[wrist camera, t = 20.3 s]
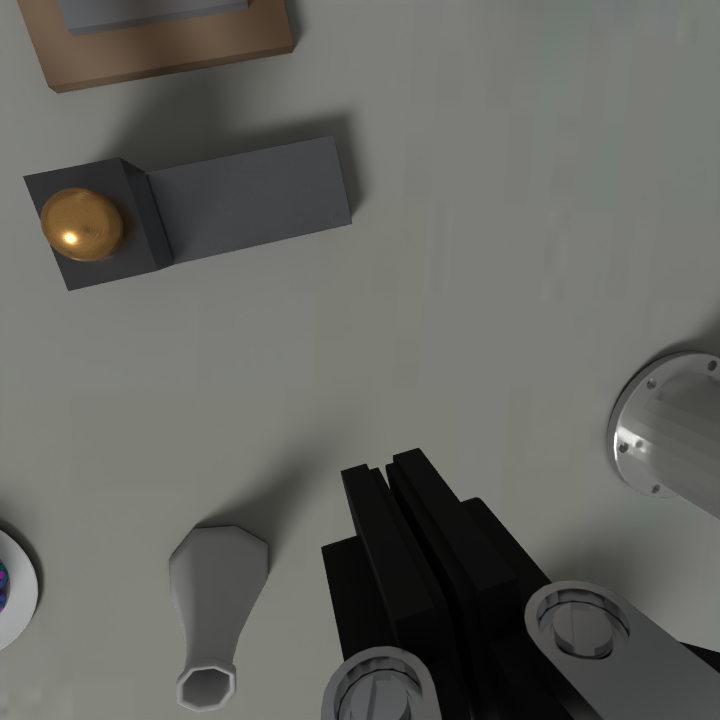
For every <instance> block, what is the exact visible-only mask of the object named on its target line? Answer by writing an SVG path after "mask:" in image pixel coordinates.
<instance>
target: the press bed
mask: <svg viewBox="0 0 720 720" xmlns="http://www.w3.org/2000/svg"><path fill="white" fill-rule="evenodd" d="M17 1H18V4H19V7H20V10H21V12H22V15H23V18H24V21H25V24H26V26H27V29H28V32H29V35H30V37H31V40H32V43H33V46H34V48H35V51H36V54H37V57H38V59H39V62H40V65H41V68H42V70H43V73H44V76H45V79H46V81H47V84H48V87H49V88H51V89H52V90H54V91H55V92H56V93H62V92H68V91H74V90H80V89H85V88H91V87H97V86H103V85H108V84H114V83H120V82H126V81H131V80H137V79H143V78H149V77H154V76H160V75H166V74H172V73H177V72H183V71H189V70H195V69H200V68H206V67H212V66H218V65H224V64H229V63H235V62H241V61H247V60H252V59H258V58H264V57H270V56H275V55H281V54H287V53H292V51H293V45H294V44H293V40H292V35H291V31H290V26H289V22H288V17H287V13H286V8H285V4H284V0H17Z"/></svg>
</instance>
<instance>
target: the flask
mask: <svg viewBox="0 0 720 720" xmlns="http://www.w3.org/2000/svg"><path fill="white" fill-rule="evenodd" d="M169 570H170V590H171V597H172V600H173V603H174V606H175V609H176V612H177V615H178V617H179V620H180V624H181V628H182V631H183V635H184V639H185V642H186V646H187V656H186V662H185V669H184V671H183V672H182V674H181V675H180V676H179V677H178V679H177V682H176V691H177V704H178V705H181V706H183V707H186V708H188V709H190V710H193V711H195V712H204V711H210V710H217V709H222V708H223V707H224V706H225V704H226V703H227V702H228V701H229V700H230V698H231V697H232V696H233V695H234V694H235V692H236V667H235V666H234V665H233V664H232V663H233V657H234V653H235V649H236V646H237V642H238V638H239V635H240V633H241V631H242V629H243V627H244V625H245V622H246V620H247V618H248V616H249V614H250V612H251V610H252V608H253V606H254V604H255V602H256V600H257V598H258V596H259V594H260V592H261V591H262V589H263V587H264V585H265V583H266V581H267V579H268V544H267V543H265V542H263V541H261V540H260V539H258V538H256V537H254V536H253V535H251V534H249V533H247V532H246V531H244V530H242V529H240V528H239V527H237V526H226V527H212V528H198V529H193V530H192V531H191V532H190V534H189V535H188V536H187V537H186V539H185V540H184V541H183V542H182V544H181V545H180V546H179V547H178V549H177V550H176V551H175V552H174V554H173V555H172V556H171V557H170V559H169Z"/></svg>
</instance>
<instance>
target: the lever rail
mask: <svg viewBox="0 0 720 720" xmlns="http://www.w3.org/2000/svg"><path fill="white" fill-rule="evenodd" d="M145 175H146V178H147V181H148V184H149V187H150V190H151V193H152V196H153V199H154V202H155V205H156V209H157V212H158V215H159V218H160V221H161V224H162V227H163V230H164V233H165V236H166V239H167V242H168V245H169V249H170V252H171V255H172V258H173V261H174V264H178V263H183V262H187V261H191V260H196V259H200V258H204V257H209V256H213V255H218V254H222V253H226V252H231V251H235V250H240V249H244V248H248V247H253V246H257V245H261V244H266V243H270V242H275V241H279V240H283V239H288V238H292V237H297V236H301V235H305V234H310V233H314V232H318V231H323V230H327V229H332V228H336V227H340V226H345V225H349V224H352V220H351V215H350V210H349V206H348V201H347V196H346V192H345V187H344V182H343V177H342V173H341V168H340V163H339V158H338V154H337V149H336V144H335V139H334V135H331V136H326V137H321V138H316V139H311V140H306V141H301V142H296V143H291V144H286V145H281V146H276V147H271V148H266V149H261V150H256V151H251V152H246V153H241V154H236V155H231V156H226V157H221V158H216V159H211V160H206V161H201V162H196V163H191V164H186V165H181V166H176V167H171V168H166V169H161V170H156V171H151V172H146V173H145Z"/></svg>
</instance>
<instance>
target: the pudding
mask: <svg viewBox="0 0 720 720" xmlns="http://www.w3.org/2000/svg"><path fill="white" fill-rule="evenodd" d="M0 560H1V561H2V562H3V564H4V565H5V567H6V569H7V571H8V574H9V578H10V586H11V591H10V596H9V600H8V602H7V605H6V607H5V609H4V610H3V612H2V613H1V614H0V650H1V649H3V648H4V647H6V646H7V645H9V644H10V643H11V642H12V641H13V640H14V639H16V638H17V637H18V636H19V635H20V634H21V633H22V631H23V630H24V629H25V627H26V626H27V624H28V623H29V622H30V619H31V617H32V615H33V613H34V611H35V608H36V603H37V598H38V582H37V578H36V574H35V571H34V568H33V566H32V564H31V562H30V560H29V558H28V556H27V555H26V554H25V552H24V551H23V550H22V549H21V547H20V546H19V545H18V544H17V543H16V542H15V541H14V540H13V539H12V538H10V537H9V536H8V535H7V534H6V533H4V532H3V531H1V530H0ZM7 571H6V570H5V569H4V567H3V566H2V564H1V563H0V611H1V610H2V609H3V608H4V606H5V602H6V597H5V595H4V594H3V592H2V590H1V589H2V587H3V586H4V585H5V584H6V582H7V581H8V579H7Z"/></svg>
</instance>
